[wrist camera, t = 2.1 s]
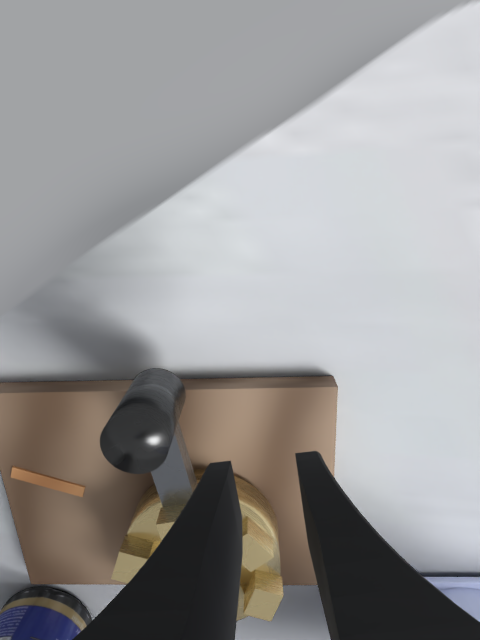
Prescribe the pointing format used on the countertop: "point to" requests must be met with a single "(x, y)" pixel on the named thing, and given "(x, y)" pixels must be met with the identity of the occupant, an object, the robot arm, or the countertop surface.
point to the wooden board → (127, 489)
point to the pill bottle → (42, 616)
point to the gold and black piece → (183, 490)
